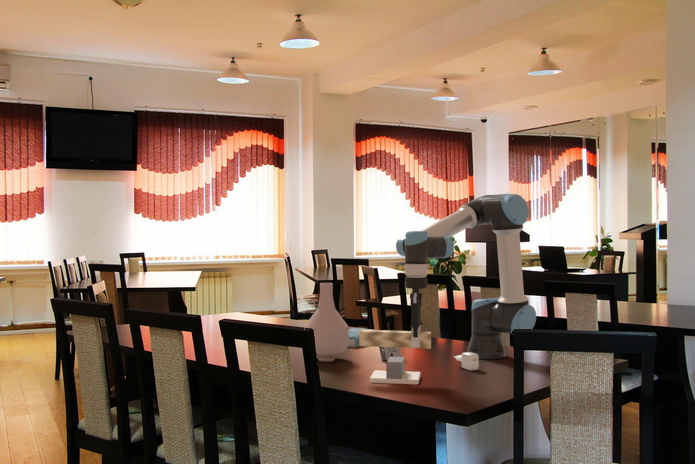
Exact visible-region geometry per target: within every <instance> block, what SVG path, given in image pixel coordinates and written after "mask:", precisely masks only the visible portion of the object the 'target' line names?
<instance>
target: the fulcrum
mask: <svg viewBox="0 0 695 464" xmlns="http://www.w3.org/2000/svg"><path fill="white" fill-rule="evenodd" d="M405 358H406V357H404V356H402V357H390V358H389V360H388V361H387V360H386V361H387V362H386V370H379V369H378V370H375V369H374V371H373V372H372V374H371V375H370V377H369V383H371V384H372V383H374V384H375V383H376V384H395V385H396V384H398V385H399V384H400V385H419V383H420V378H421V371H406V370H405V366H406V365H405Z"/></svg>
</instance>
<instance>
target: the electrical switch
mask: <svg viewBox="0 0 695 464" xmlns="http://www.w3.org/2000/svg"><path fill="white" fill-rule="evenodd" d="M378 349H379V353H380V354H379V355H380V357H381V361H388V360H389V358H390V357H403V356H402V352H401V348H398V347H378Z"/></svg>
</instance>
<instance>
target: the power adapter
mask: <svg viewBox="0 0 695 464" xmlns="http://www.w3.org/2000/svg"><path fill="white" fill-rule="evenodd" d="M452 358H454V359H456V361H458V362H461V367H462V368H463V369H465V370H467V371H477V370H479V368H480V367H479V364H480V363H479V362H480V361H479V359H480V358H479V357H478V354H475V353H472V352H467V351H466V352H462V353H461V354H458V355H452Z"/></svg>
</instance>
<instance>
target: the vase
mask: <svg viewBox="0 0 695 464" xmlns="http://www.w3.org/2000/svg"><path fill="white" fill-rule="evenodd" d="M333 287H334V284H333V283H332V282H320V283H319V300H318V306H317V309H316V310H315V312H314V313H313V314H312V315H311V317H310V318H309V320H308V321H307V322H306V323H305V325H304V329H305V328H312V329H313V330H314V336H315V345H316V353H317V356H316V357H317V359H318V361H320V362H333V361H335V360H336V359H335V358H336V357H338V356H339V355H341V354H343V353H345V352H346V351H347V349H348V347H347V346H348V344H349V332H348V329H349V325H348V324H347V323H346V321H345V319H343V317H342V316H341V315H340V313H339V312H338V310H337V309H336V306H335V302H334V295H333V294H334V292H333V291H334V290H333V289H334V288H333Z"/></svg>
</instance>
